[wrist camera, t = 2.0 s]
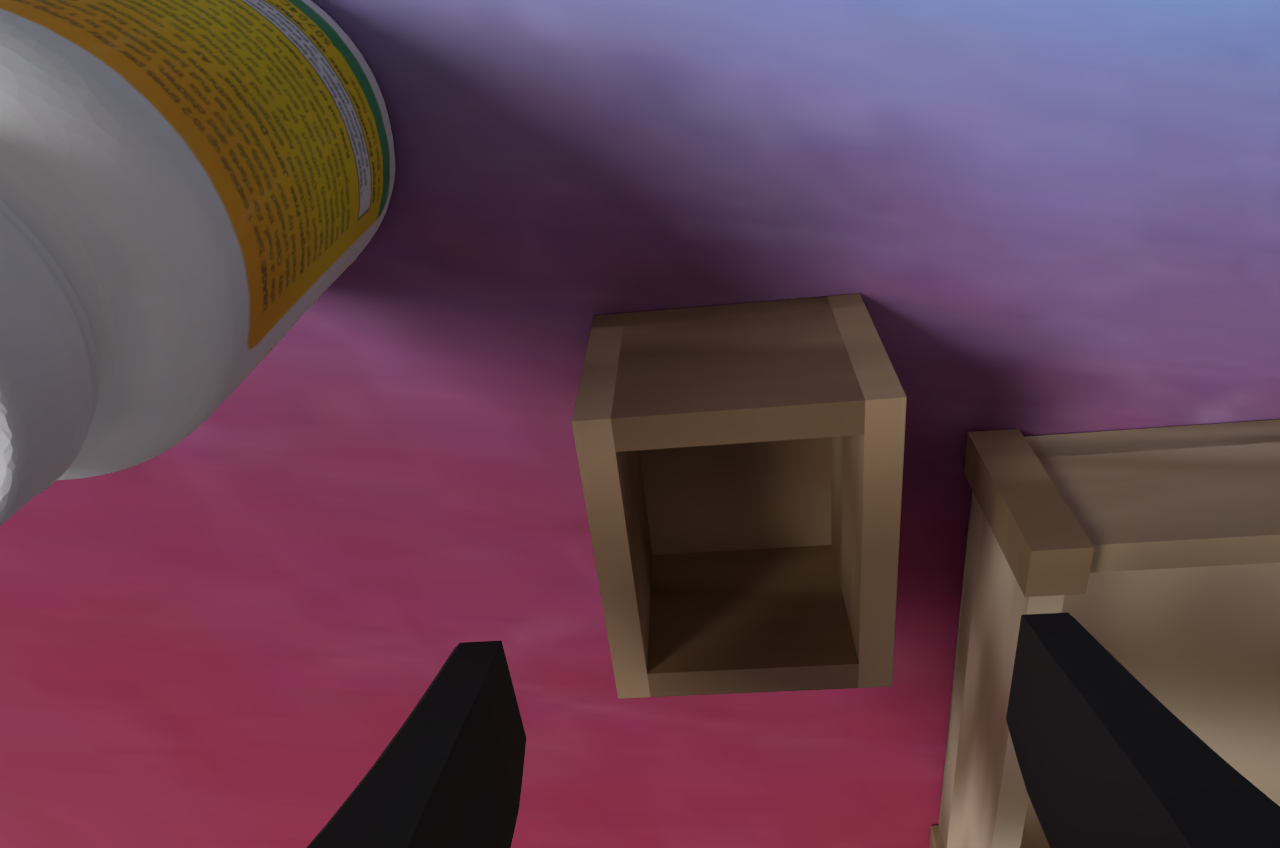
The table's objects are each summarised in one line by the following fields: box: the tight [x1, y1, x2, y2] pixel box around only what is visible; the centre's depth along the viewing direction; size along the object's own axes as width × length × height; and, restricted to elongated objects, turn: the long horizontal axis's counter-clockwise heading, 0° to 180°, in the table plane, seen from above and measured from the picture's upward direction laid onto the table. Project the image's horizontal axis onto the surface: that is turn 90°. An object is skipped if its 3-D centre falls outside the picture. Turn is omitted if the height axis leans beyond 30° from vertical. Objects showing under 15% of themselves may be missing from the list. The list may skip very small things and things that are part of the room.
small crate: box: [572, 293, 907, 698], centre depth 17 cm, size 6×5×4 cm
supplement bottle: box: [0, 0, 396, 526], centre depth 11 cm, size 5×5×10 cm
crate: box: [929, 419, 1280, 848], centre depth 19 cm, size 14×13×4 cm
